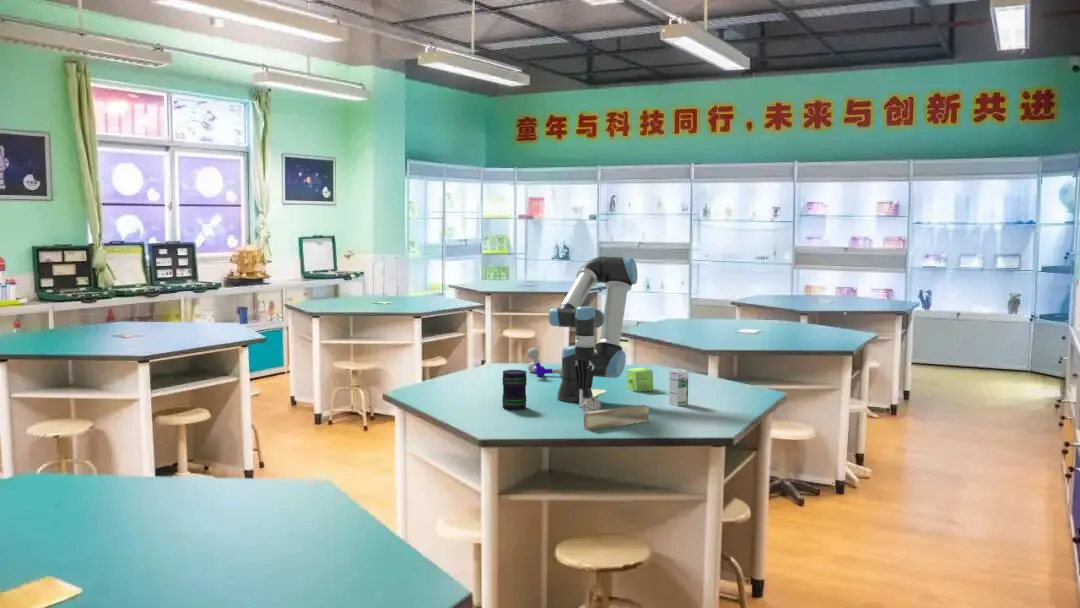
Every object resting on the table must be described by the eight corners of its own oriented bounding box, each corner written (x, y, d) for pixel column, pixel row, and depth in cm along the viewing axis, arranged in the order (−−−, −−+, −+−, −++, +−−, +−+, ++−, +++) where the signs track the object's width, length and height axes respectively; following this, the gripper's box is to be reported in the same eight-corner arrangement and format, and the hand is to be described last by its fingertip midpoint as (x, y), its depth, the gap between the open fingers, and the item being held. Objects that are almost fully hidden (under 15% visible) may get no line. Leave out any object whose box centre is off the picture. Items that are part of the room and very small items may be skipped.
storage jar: (518, 411, 347) (518, 374, 346) (497, 408, 352) (497, 372, 351) (530, 407, 356) (531, 371, 355) (510, 404, 361) (510, 368, 359)
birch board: (583, 428, 320) (583, 412, 319) (643, 420, 334) (643, 404, 334) (588, 430, 317) (588, 413, 316) (648, 421, 332) (648, 406, 331)
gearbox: (619, 387, 405) (619, 367, 404) (639, 385, 408) (638, 365, 407) (635, 393, 388) (635, 372, 387) (656, 391, 391) (655, 371, 390)
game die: (594, 426, 338) (598, 410, 332) (574, 417, 341) (579, 400, 334) (603, 412, 345) (608, 395, 338) (584, 402, 347) (588, 386, 340)
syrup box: (676, 406, 361) (677, 371, 360) (668, 403, 367) (669, 369, 365) (688, 405, 364) (689, 370, 363) (679, 402, 369) (680, 368, 368)
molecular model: (569, 379, 422) (570, 349, 420) (527, 379, 422) (527, 348, 420) (568, 372, 443) (568, 343, 442) (527, 371, 443) (528, 342, 442)
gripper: (567, 344, 345) (566, 403, 347) (586, 348, 334) (584, 409, 336) (583, 343, 349) (581, 401, 351) (601, 347, 338) (600, 407, 340)
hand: (583, 405), depth 343 cm, fingers closed
